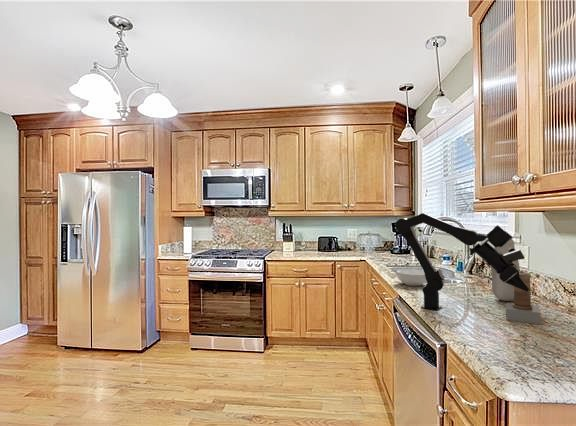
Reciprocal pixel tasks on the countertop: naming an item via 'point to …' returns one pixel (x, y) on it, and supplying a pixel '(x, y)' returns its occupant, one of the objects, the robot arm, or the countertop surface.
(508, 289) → the grey bottle
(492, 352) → the countertop surface
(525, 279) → the pepper mill
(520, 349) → the countertop surface
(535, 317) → the slate block
